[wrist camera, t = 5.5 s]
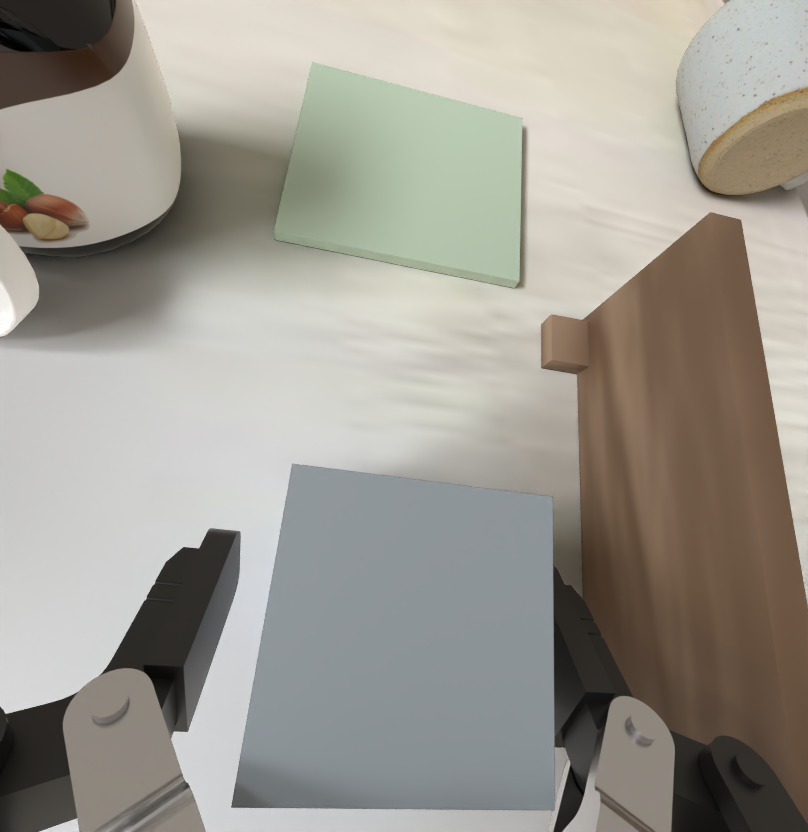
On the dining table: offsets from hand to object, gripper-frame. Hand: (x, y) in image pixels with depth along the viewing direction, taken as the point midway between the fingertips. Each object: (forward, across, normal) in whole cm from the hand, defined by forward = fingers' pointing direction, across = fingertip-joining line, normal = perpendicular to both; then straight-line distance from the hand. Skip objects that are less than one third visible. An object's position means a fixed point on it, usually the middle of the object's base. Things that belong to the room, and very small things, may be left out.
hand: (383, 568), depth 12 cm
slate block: (+3, 0, +4) cm, 5 cm away
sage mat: (+17, 0, -10) cm, 20 cm away
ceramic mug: (+23, -20, -16) cm, 35 cm away
